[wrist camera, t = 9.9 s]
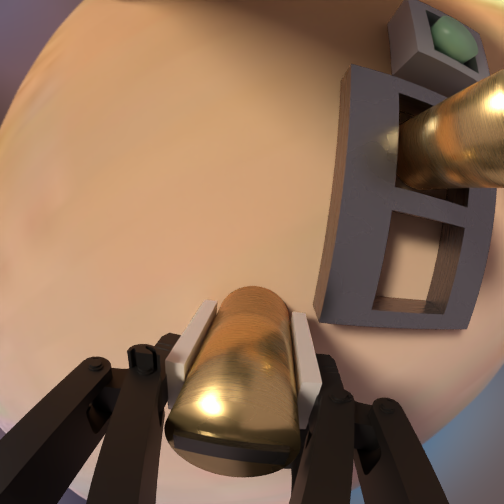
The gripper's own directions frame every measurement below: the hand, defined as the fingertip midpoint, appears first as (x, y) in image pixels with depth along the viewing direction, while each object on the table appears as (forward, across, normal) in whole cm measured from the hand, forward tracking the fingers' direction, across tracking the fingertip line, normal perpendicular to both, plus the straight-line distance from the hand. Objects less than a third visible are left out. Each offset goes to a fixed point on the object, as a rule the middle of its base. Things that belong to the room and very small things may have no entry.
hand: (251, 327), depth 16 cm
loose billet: (+1, 0, 0) cm, 1 cm away
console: (+1, +10, +20) cm, 22 cm away
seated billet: (+1, +9, +12) cm, 15 cm away
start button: (-2, +10, +20) cm, 22 cm away
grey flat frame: (+1, +9, +8) cm, 12 cm away
